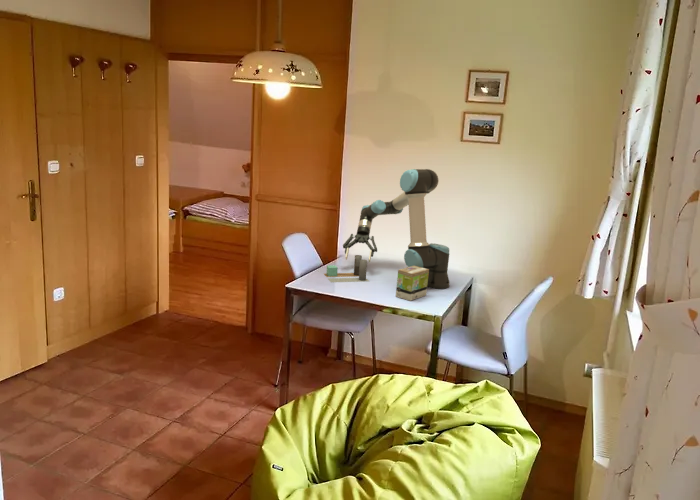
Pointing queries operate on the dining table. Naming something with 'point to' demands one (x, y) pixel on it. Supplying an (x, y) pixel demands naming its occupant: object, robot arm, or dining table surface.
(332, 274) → the teal block
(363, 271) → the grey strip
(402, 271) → the tea box
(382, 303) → the dining table surface
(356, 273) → the tan and grey stand
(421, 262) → the robot arm
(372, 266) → the dining table surface
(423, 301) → the dining table surface
